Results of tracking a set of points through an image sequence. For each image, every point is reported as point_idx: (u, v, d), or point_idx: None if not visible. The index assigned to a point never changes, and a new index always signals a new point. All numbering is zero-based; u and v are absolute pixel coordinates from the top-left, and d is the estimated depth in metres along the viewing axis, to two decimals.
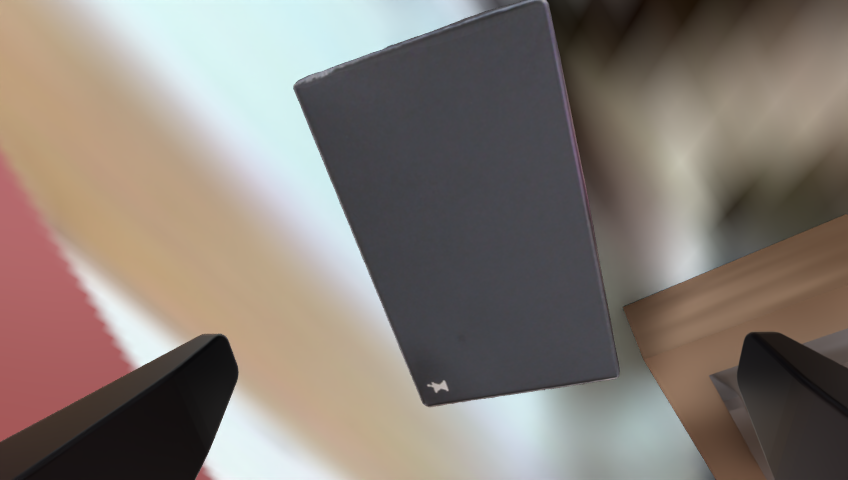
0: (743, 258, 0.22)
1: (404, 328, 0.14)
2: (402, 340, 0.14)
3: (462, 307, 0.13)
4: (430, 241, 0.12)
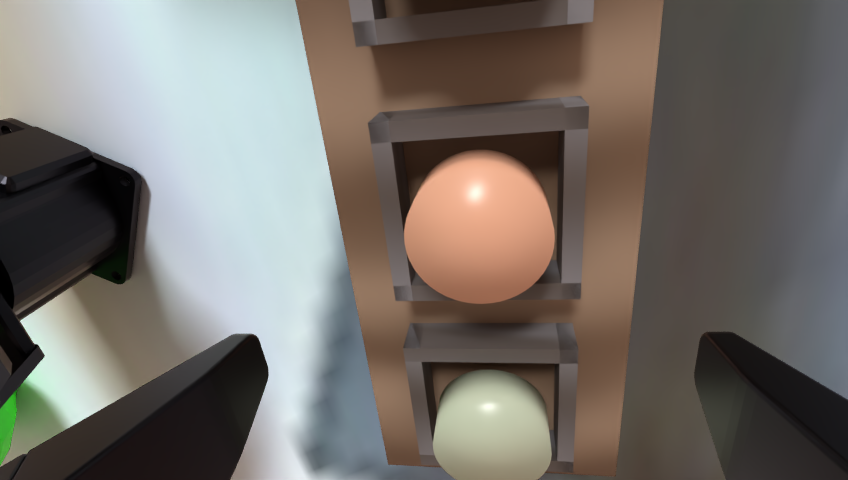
0: None
1: None
2: None
3: None
4: None
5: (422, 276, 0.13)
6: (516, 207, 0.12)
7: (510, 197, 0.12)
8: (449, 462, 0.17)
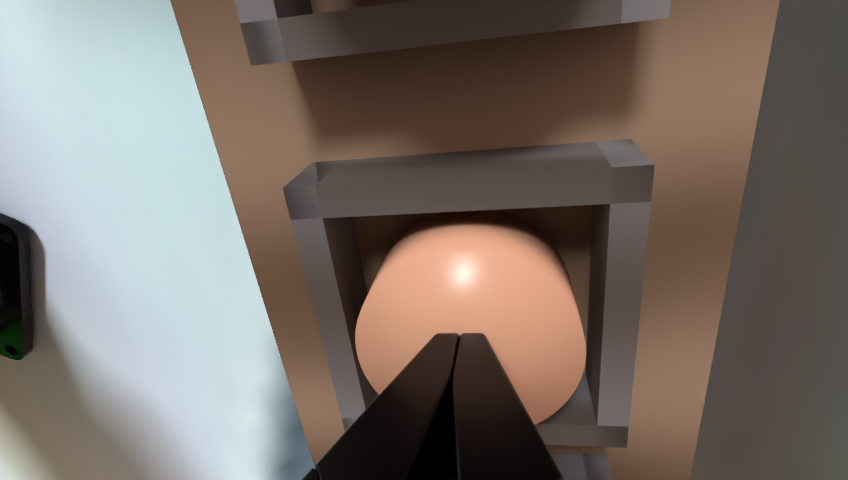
0: None
1: None
2: None
3: None
4: None
5: None
6: (525, 309, 0.08)
7: (516, 295, 0.08)
8: None
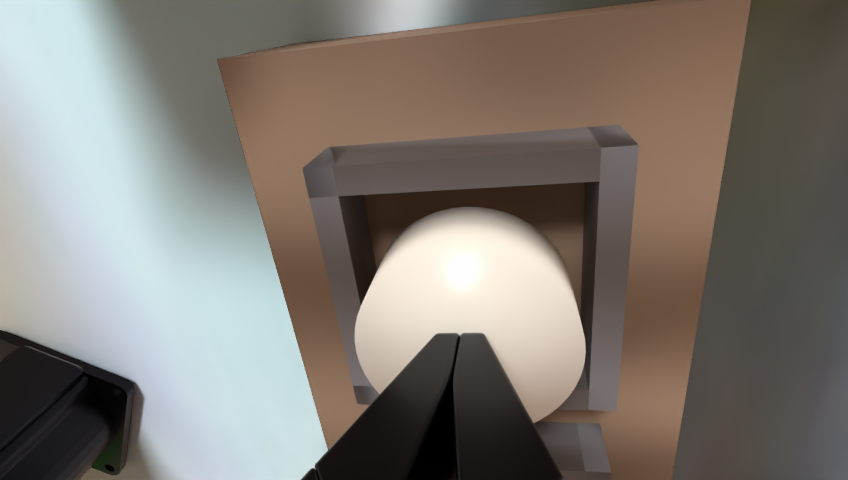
0: (499, 19, 0.12)
1: None
2: None
3: None
4: None
5: None
6: None
7: None
8: None
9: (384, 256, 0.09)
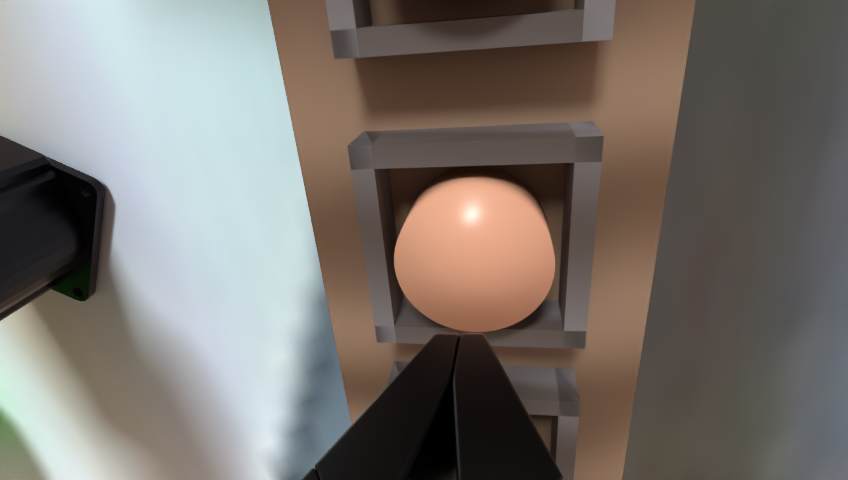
0: None
1: None
2: None
3: None
4: None
5: (412, 301, 0.13)
6: (514, 233, 0.11)
7: (509, 222, 0.11)
8: None
9: None
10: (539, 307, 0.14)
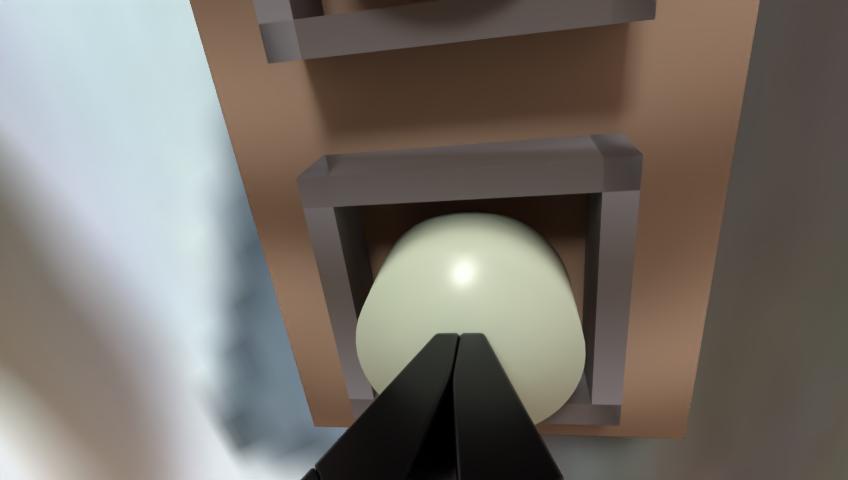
0: None
1: None
2: None
3: None
4: None
5: None
6: None
7: None
8: (390, 381, 0.09)
9: None
10: None
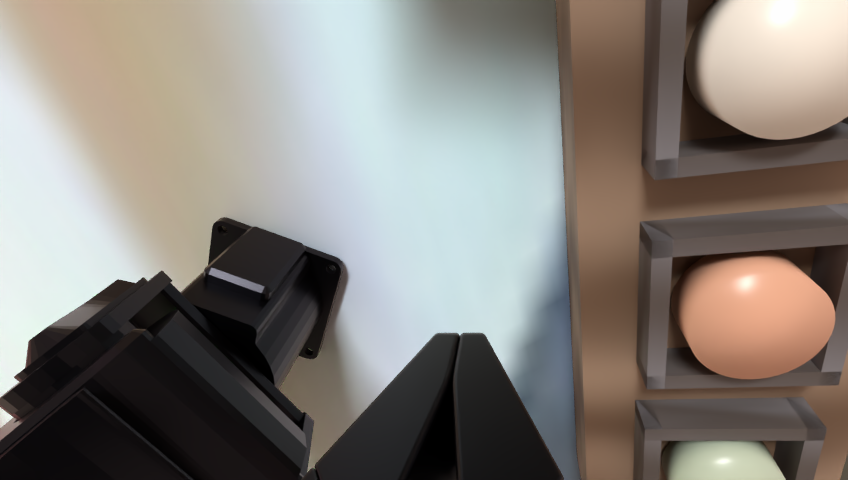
0: None
1: None
2: None
3: None
4: None
5: (699, 358, 0.15)
6: (802, 302, 0.14)
7: (799, 294, 0.14)
8: None
9: (709, 13, 0.12)
10: None
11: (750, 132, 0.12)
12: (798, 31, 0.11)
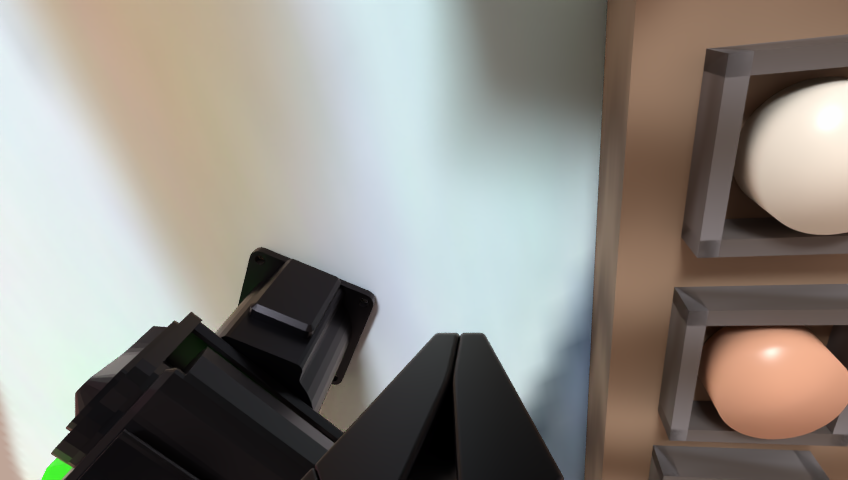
0: None
1: None
2: None
3: None
4: None
5: (724, 418, 0.17)
6: (823, 375, 0.15)
7: (821, 368, 0.15)
8: None
9: (760, 114, 0.13)
10: None
11: (792, 226, 0.13)
12: (844, 144, 0.12)
